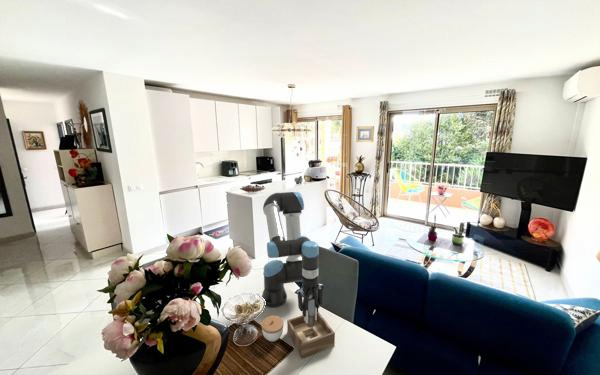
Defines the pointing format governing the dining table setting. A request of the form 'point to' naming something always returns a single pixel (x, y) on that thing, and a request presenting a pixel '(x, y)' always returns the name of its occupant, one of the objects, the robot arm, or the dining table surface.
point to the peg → (311, 312)
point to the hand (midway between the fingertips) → (310, 319)
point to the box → (320, 330)
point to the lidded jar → (272, 328)
